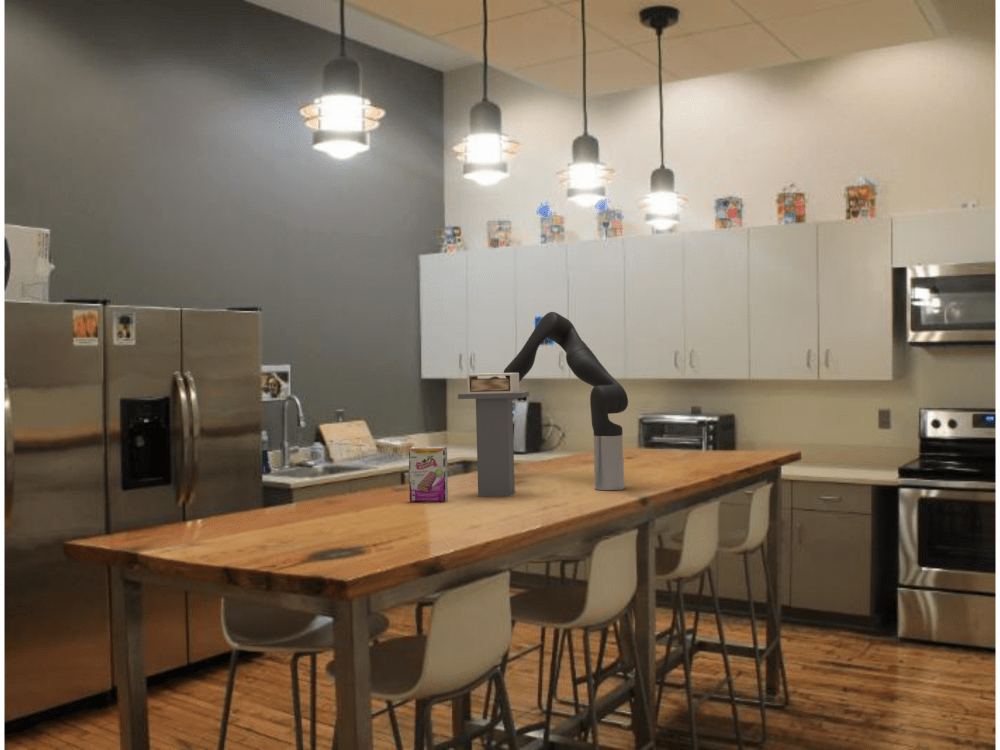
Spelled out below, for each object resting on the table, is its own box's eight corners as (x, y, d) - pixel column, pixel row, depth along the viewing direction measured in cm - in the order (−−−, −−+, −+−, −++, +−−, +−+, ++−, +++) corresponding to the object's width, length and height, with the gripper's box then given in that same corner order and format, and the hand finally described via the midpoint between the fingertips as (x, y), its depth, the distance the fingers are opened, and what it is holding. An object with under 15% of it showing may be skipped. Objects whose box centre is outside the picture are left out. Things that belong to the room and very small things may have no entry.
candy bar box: (409, 502, 296) (407, 448, 296) (412, 500, 301) (411, 446, 301) (446, 502, 295) (444, 447, 295) (448, 499, 300) (447, 446, 300)
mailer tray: (522, 387, 323) (521, 377, 323) (509, 390, 301) (509, 379, 301) (486, 388, 325) (486, 378, 325) (471, 390, 304) (470, 379, 304)
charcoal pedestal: (531, 492, 313) (529, 391, 312) (524, 497, 300) (521, 392, 300) (470, 491, 317) (467, 392, 316) (460, 497, 304) (457, 394, 304)
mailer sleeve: (519, 391, 313) (518, 372, 312) (512, 393, 301) (511, 373, 301) (476, 392, 315) (475, 373, 315) (467, 393, 304) (467, 374, 303)
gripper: (482, 381, 339) (486, 384, 322) (523, 383, 340) (529, 386, 324) (481, 403, 339) (484, 407, 323) (522, 405, 340) (528, 409, 324)
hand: (507, 396), depth 323 cm, fingers open, 8 cm apart
